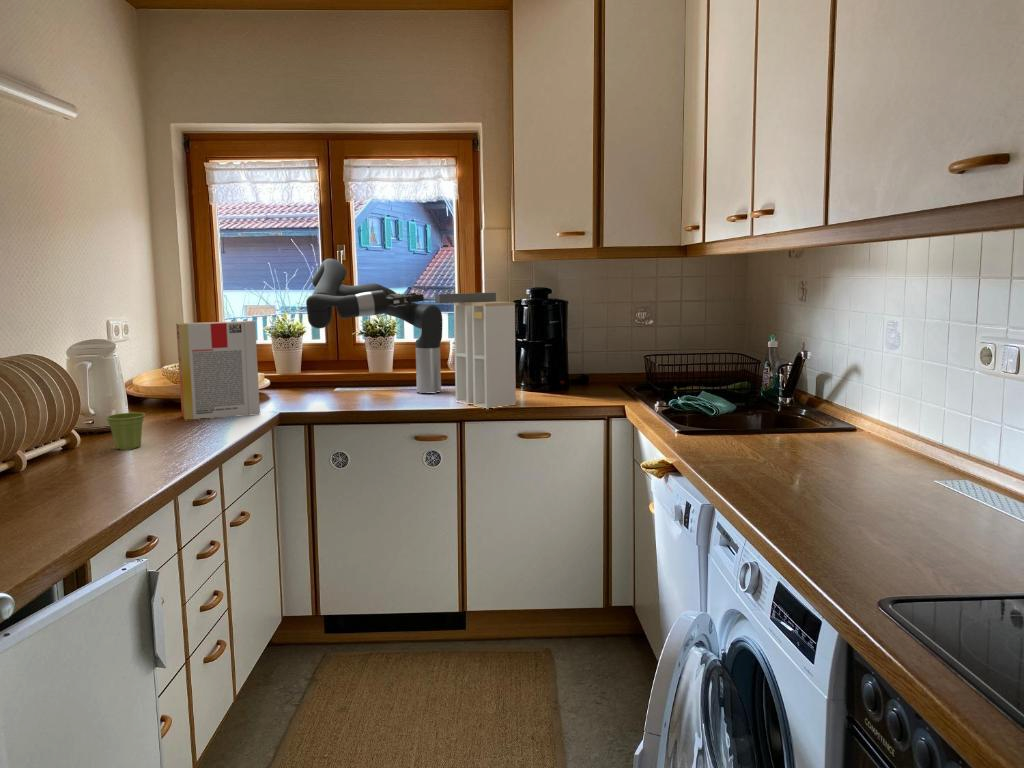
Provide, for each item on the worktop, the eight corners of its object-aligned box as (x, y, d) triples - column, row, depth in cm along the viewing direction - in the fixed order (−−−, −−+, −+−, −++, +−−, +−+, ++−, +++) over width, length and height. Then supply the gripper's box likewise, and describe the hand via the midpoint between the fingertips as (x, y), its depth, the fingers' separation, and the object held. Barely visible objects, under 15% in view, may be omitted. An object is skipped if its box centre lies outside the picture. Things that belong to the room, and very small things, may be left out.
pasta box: (255, 410, 276) (250, 320, 272) (259, 414, 269) (255, 322, 265) (182, 416, 266) (176, 323, 262) (184, 420, 259) (178, 324, 255)
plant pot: (107, 453, 212) (104, 419, 211) (109, 446, 221) (106, 414, 219) (147, 449, 216) (145, 416, 215) (147, 443, 224) (145, 411, 223)
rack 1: (483, 399, 297) (482, 301, 292) (496, 401, 290) (495, 301, 286) (455, 402, 290) (453, 302, 285) (468, 405, 283) (466, 302, 279)
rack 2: (501, 402, 288) (500, 301, 283) (515, 405, 282) (514, 302, 277) (472, 406, 281) (470, 302, 276) (486, 409, 274) (484, 303, 270)
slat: (491, 301, 291) (490, 292, 291) (496, 301, 289) (495, 292, 289) (435, 303, 278) (435, 294, 277) (440, 303, 275) (439, 294, 275)
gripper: (373, 292, 255) (424, 285, 261) (364, 290, 268) (412, 284, 274) (377, 316, 257) (427, 309, 262) (367, 313, 270) (415, 306, 275)
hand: (419, 296), depth 268 cm, fingers open, 8 cm apart
